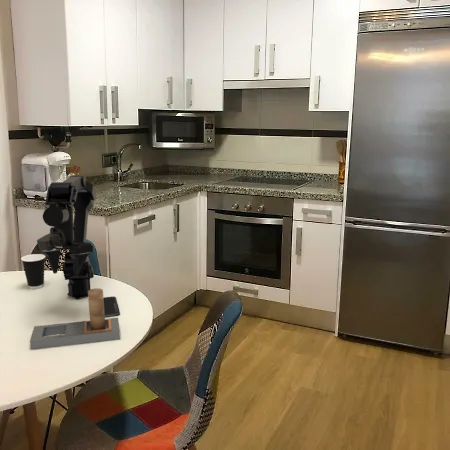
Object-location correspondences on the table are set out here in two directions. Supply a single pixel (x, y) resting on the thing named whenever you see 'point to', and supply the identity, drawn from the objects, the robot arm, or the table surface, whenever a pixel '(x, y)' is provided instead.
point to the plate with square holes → (73, 334)
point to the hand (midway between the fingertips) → (65, 274)
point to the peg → (96, 309)
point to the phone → (111, 307)
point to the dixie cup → (34, 270)
